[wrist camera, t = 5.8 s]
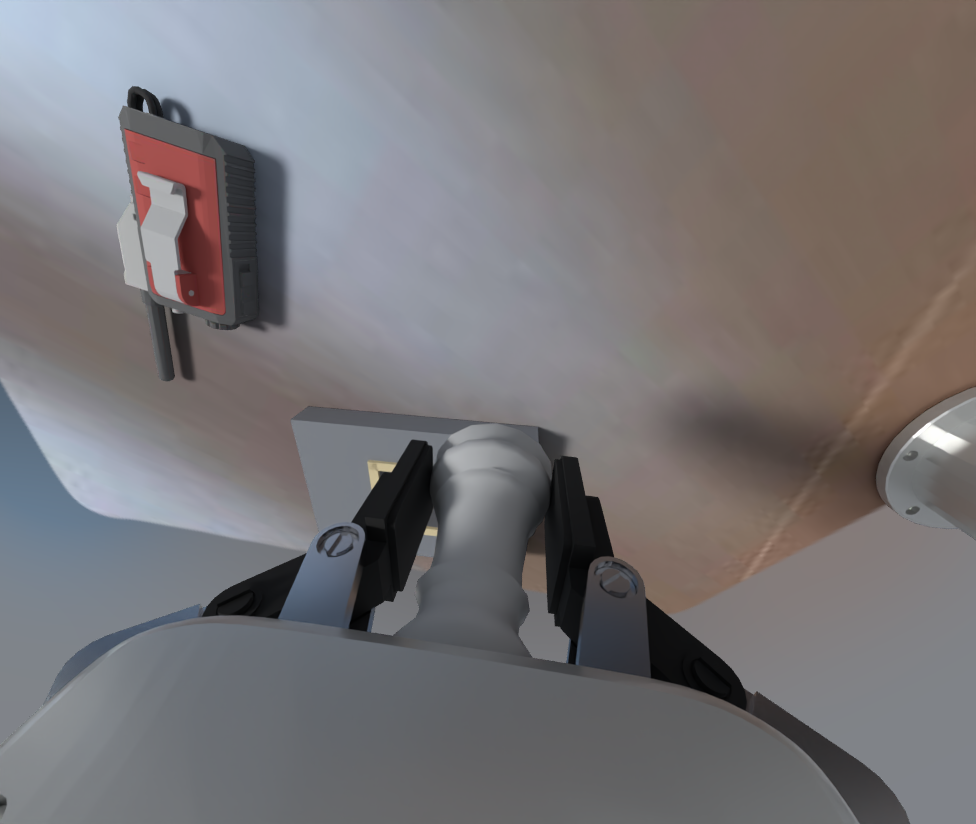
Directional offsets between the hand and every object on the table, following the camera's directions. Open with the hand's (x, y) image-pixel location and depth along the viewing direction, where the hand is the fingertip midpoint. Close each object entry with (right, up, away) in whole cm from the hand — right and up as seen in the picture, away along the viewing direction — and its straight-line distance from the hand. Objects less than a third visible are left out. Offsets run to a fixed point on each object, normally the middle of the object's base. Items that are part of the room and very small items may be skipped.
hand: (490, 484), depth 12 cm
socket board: (-6, -4, +20) cm, 21 cm away
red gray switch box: (-21, +13, +14) cm, 29 cm away
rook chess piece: (0, +1, +1) cm, 1 cm away
